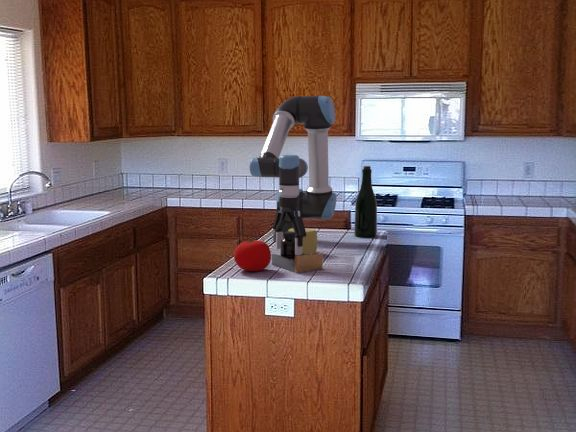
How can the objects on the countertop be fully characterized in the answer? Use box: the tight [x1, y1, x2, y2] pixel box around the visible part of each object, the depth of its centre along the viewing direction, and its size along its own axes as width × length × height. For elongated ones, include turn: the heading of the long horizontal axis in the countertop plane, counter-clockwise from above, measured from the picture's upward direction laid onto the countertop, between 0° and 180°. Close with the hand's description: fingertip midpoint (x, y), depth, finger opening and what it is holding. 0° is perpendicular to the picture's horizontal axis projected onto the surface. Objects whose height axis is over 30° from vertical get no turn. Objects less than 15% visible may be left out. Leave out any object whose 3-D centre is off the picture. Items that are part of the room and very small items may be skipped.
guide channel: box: [271, 252, 324, 274], centre depth 256 cm, size 17×11×6 cm, turn 32°
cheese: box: [288, 228, 318, 255], centre depth 281 cm, size 10×11×10 cm
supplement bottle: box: [279, 231, 298, 260], centre depth 260 cm, size 7×7×12 cm
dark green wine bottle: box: [353, 165, 378, 239], centre depth 320 cm, size 10×10×33 cm
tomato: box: [233, 238, 272, 272], centre depth 250 cm, size 12×14×12 cm
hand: (288, 251), depth 260 cm, fingers open, 13 cm apart
